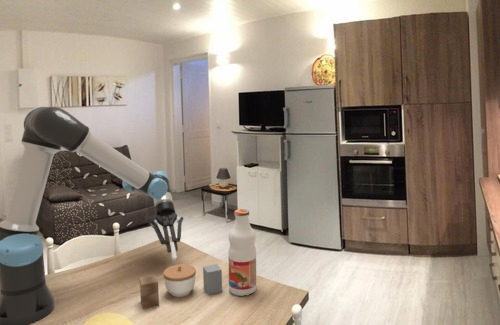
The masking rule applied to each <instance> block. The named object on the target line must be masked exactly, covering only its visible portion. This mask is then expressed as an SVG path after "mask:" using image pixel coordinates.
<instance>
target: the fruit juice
mask: <svg viewBox="0 0 500 325" xmlns="http://www.w3.org/2000/svg"><path fill="white" fill-rule="evenodd" d="M233 213H234V217H235V219H234V223H233V225H232V228H231V229H230V231H229V233H228V241H229V247H228V255H227V256H228V289H229V292H230V293H231V294H232V295H234V296H238V297H239V296H240V297H245V296H244V295H247V296H250V295H249V294H251V293H253V292H254V291H255V292H256V291H257V290H256V289H257V248H256V245H255V242H256V239H257V236H256V231H255V230H254V229H253V227H252V226H251V224H250V219H249V216H250V210H249V209H246V208H240V209H239V208H238V209H236V210H234V212H233ZM255 292H254V293H255ZM254 293H253V294H254ZM251 295H252V294H251Z"/></svg>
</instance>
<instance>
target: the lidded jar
mask: <svg viewBox="0 0 500 325" xmlns="http://www.w3.org/2000/svg"><path fill="white" fill-rule="evenodd" d="M196 272H197V271H196V267H195V266H193V265H190V264H183V263H182V264H180V263H179V264H174V265H171V266H169V267H167V268H165V269H164V270H163V273H162V274H163V275H162V276H163V283H164V286H165V289H166V291H167V292H168V293H169V294H171V296H173V297H176V298H183V297H186V296H187V295H189V294H190V292H191V291H192V290H193V288H194V286H195V283H196Z"/></svg>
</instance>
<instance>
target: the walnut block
mask: <svg viewBox="0 0 500 325" xmlns="http://www.w3.org/2000/svg"><path fill="white" fill-rule="evenodd" d="M139 290H140V303H141V307H142V310H146V309H150V308H155V307H160V297H159V281H158V279H157V275H156V274H155V275H149V276H145V277H140V278H139Z"/></svg>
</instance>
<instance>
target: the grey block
mask: <svg viewBox="0 0 500 325" xmlns="http://www.w3.org/2000/svg"><path fill="white" fill-rule="evenodd" d="M202 271H203V272H202V273H203V275H202V276H203V278H202V280H203V290H204V292H206V294H207V296H211V295H214V294H219V293H222V292H223V278H222V274H223V273H222V268H221V267H220V266H219V265H218V264H217V263H216V264H211V265H204V266H202Z"/></svg>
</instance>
